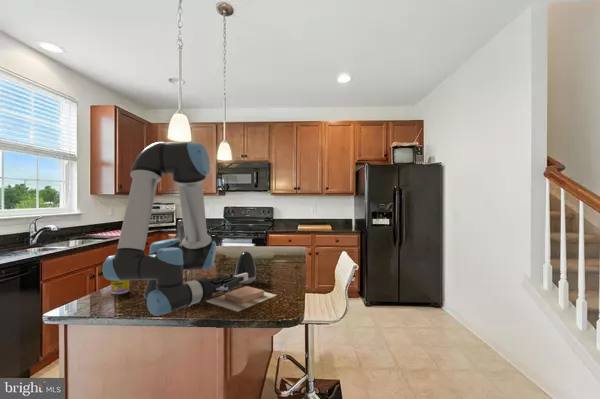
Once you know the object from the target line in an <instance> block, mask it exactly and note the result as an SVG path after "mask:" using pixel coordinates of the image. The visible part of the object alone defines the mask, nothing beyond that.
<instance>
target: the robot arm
mask: <svg viewBox="0 0 600 399" xmlns="http://www.w3.org/2000/svg"><path fill="white" fill-rule="evenodd" d="M210 170H211V167H210V157H209V153H208V150H207V148H206V147H205V145H203V144H202V143H199V142H198V143H197V142H192V141H190V142H188V141H186V142H185V141H181V142H179V141H177V142H176V141H171V142H170V141H157V142H154V143H151V144H149V145H147V146H146V147H145V148H144V149H143V150H142V151H141V152H140V153H139V154H138V155H137V156H136V158H135V159H134V162H133V163H132V166H131V170H130V174H129V175H130V177H131V178H132V181H131V184H130V191H129V194H128V199H127V202H126V208H125V212H124V217H123V221H122V226H121V230H120V234H119V239H118V243H117V249H116V252H115V254H112V255H109V256H107V257H106V258H105V261H104V262H103V264H102V274H103V275H102V276H103V277H104V278H105V279H106V280H108V281H111V280H120V281H124V280H129V281H147V283H146V286H145V289H144V292H143V298H144V300H145V301H146V307H147V310H148V312H149V313H150V314H151V315H153V316H156V317H158V316H162V315H166V314H170V313H172V312H174V311H178V310H181V309H183V308H186V307H189V308H190V307H191V306H192V305H195V304H198V303H202V302H205V301H208V300H210V299H211V297H212V296H213V294H217V293H219V292H221V291H223V293H224V294H225V293H228V292H229V291H230V290H232V289H234V288H236V287H238V286H240V284H241V283H240V282H243V281H246V280H248V273H243V274H239V275H235V274H234V275H233V274H232V273H231V274H230V275H229V276H228V275H225V276H224V275H223V276H219V277H214V278H207V277H201V278H197V279H195V280H193V279H192V280H189V281H186V282H184V271H191V270H192V271H195V270H197V271H198V270H199V271H204V270H210V269H212V268H213V266H214V264H215V260H216V254H217V242H216V241H212V237H211V235H210V234H208V231H207V229H208V228H207V218H206V209H205V198H204V196H205V195H204V187H203V183H204V182H205V180H206V179H207V175H209V174H210V172H211V171H210ZM163 175H172V180H173V182H174V183H176V185H178V186H177V187H178V191H179V192H178V193H179V200H180V207H181V214H182V220H183V224H184V232H185V237H184V239H183V240H182V242H181V241H180V238H177V239H175V238H169V239H164V240H158V241H154V242H152V243H151V244H150V245H149V252H148V254H144V253H145V247H146V244H147V238H148V233H149V232H148V231H149V227H150V223H151V222H150V221H151V217H152V213H153V212H152V211H153V206H154V200H155V195H156V192H157V186H158V183H160V182H162V177H163Z"/></svg>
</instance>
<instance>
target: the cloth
mask: <svg viewBox="0 0 600 399" xmlns="http://www.w3.org/2000/svg"><path fill="white" fill-rule="evenodd" d="M276 296H277V294H275V293H270V292H268V291H267V292H266V291H264V295H263V296H261V297H258V298H256V299H253V300H251V301H248V302H246V303H243V304H242V303H238V302H235V301H232V300H228V299H225V294H223V295H219V296H217V297H214V298H210V299H207V300H205V302H206V303H208V304H213V305H215V306H218V307H220V308H221V307H222V308H225V309H226V310H231V311H234V312H237V313H238V312H240V311H242V310H245V309H249V308H250V307H252V306H255V305H258V304H259V303H261V302H264V301H266V300H269V299H271V298H275V297H276Z"/></svg>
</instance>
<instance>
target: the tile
mask: <svg viewBox="0 0 600 399" xmlns="http://www.w3.org/2000/svg"><path fill="white" fill-rule="evenodd" d="M264 292H265V290H264V289H259V288H255V287H252V286H248V285H246V286H243V287H240V288H237V289H234V290H232V291H228V292H226V293H225V292H224V295H225V299H228V300H232V301H235V302H238V303H242V304H243V303H246V302H248V301H251V300H253V299H256V298H258V297H261V296H263V295H264Z"/></svg>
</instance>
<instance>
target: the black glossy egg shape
mask: <svg viewBox="0 0 600 399" xmlns="http://www.w3.org/2000/svg"><path fill="white" fill-rule="evenodd" d="M243 273H248V280H246V281H243V282H240V283H239V284H242V285H250V284H252V283H254V281H255V280H256V277H257V268H256V264H255V260H254V257H253V255H252V254H251V252H249V251H244V252H242V253H241V254H240V255H239V258H238V260H237V262H236V266H235V272H234V276H235V275H239V274H243Z"/></svg>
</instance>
